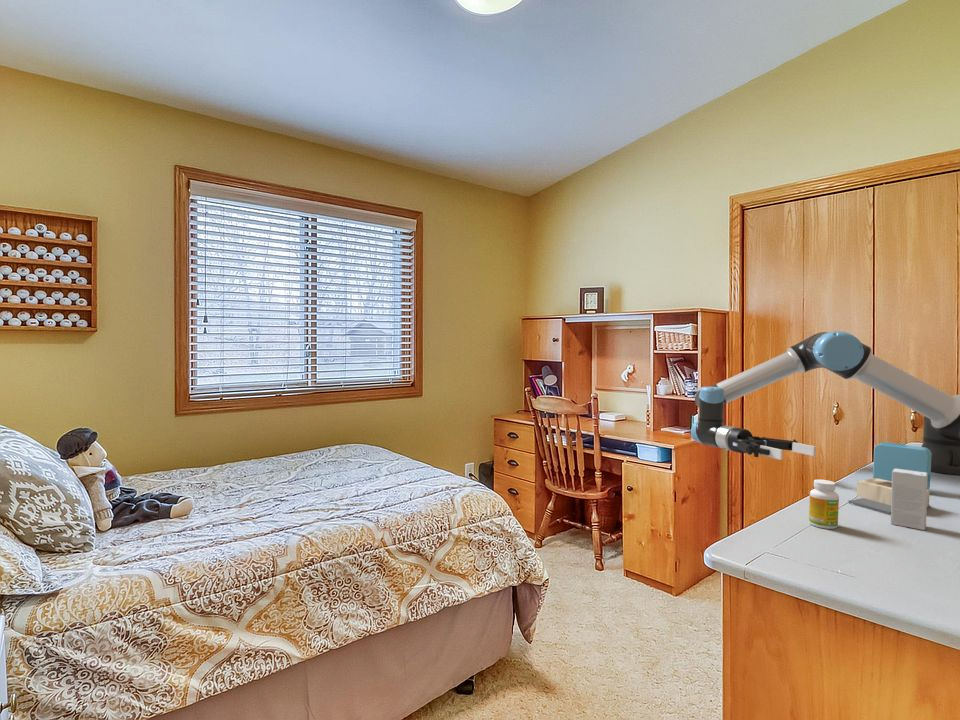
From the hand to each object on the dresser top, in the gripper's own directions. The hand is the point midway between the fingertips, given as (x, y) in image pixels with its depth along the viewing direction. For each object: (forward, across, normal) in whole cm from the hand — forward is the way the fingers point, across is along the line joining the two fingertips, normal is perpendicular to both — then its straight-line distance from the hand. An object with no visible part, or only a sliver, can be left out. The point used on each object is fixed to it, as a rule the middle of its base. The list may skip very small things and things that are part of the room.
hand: (798, 453), depth 151 cm
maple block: (+14, -7, -7) cm, 17 cm away
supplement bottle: (+24, +25, -10) cm, 36 cm away
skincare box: (+31, +7, -10) cm, 33 cm away
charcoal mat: (+20, -5, -9) cm, 23 cm away
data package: (+12, -25, -10) cm, 30 cm away
